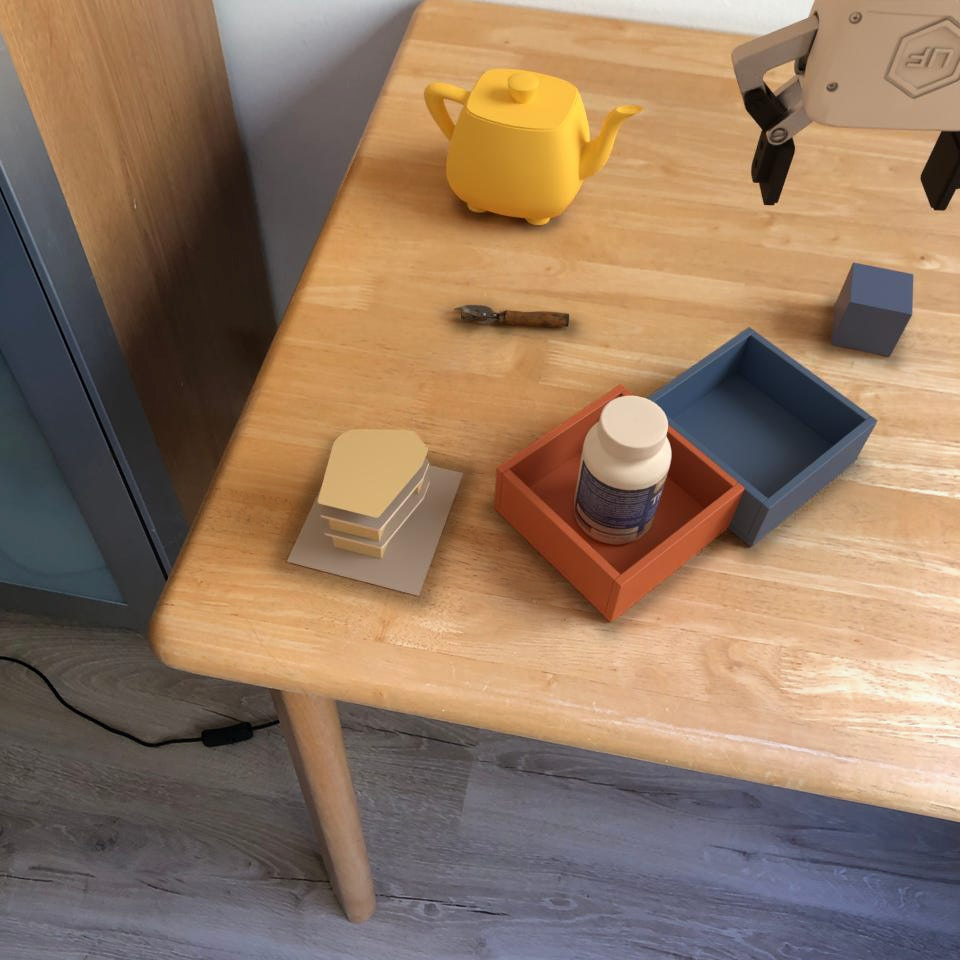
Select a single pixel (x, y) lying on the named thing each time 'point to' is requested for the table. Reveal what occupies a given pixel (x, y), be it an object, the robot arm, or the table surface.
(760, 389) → the blue bin
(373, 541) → the stacked layers on plate
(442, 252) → the table surface
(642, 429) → the pill bottle
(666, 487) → the terracotta bin
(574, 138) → the teapot
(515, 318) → the can opener
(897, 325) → the blue block
